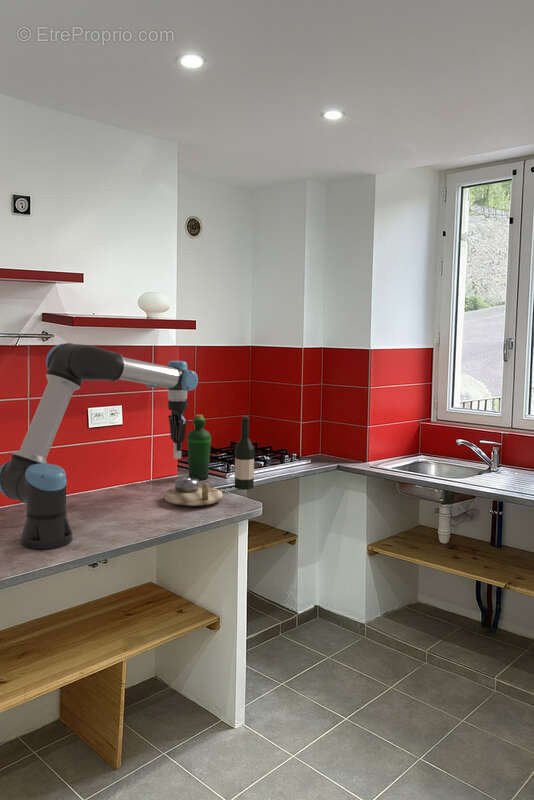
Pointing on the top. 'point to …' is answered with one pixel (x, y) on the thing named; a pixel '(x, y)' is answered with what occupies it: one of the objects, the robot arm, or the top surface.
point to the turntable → (194, 496)
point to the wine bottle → (244, 459)
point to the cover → (186, 484)
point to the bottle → (199, 449)
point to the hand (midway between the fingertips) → (177, 458)
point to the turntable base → (193, 505)
